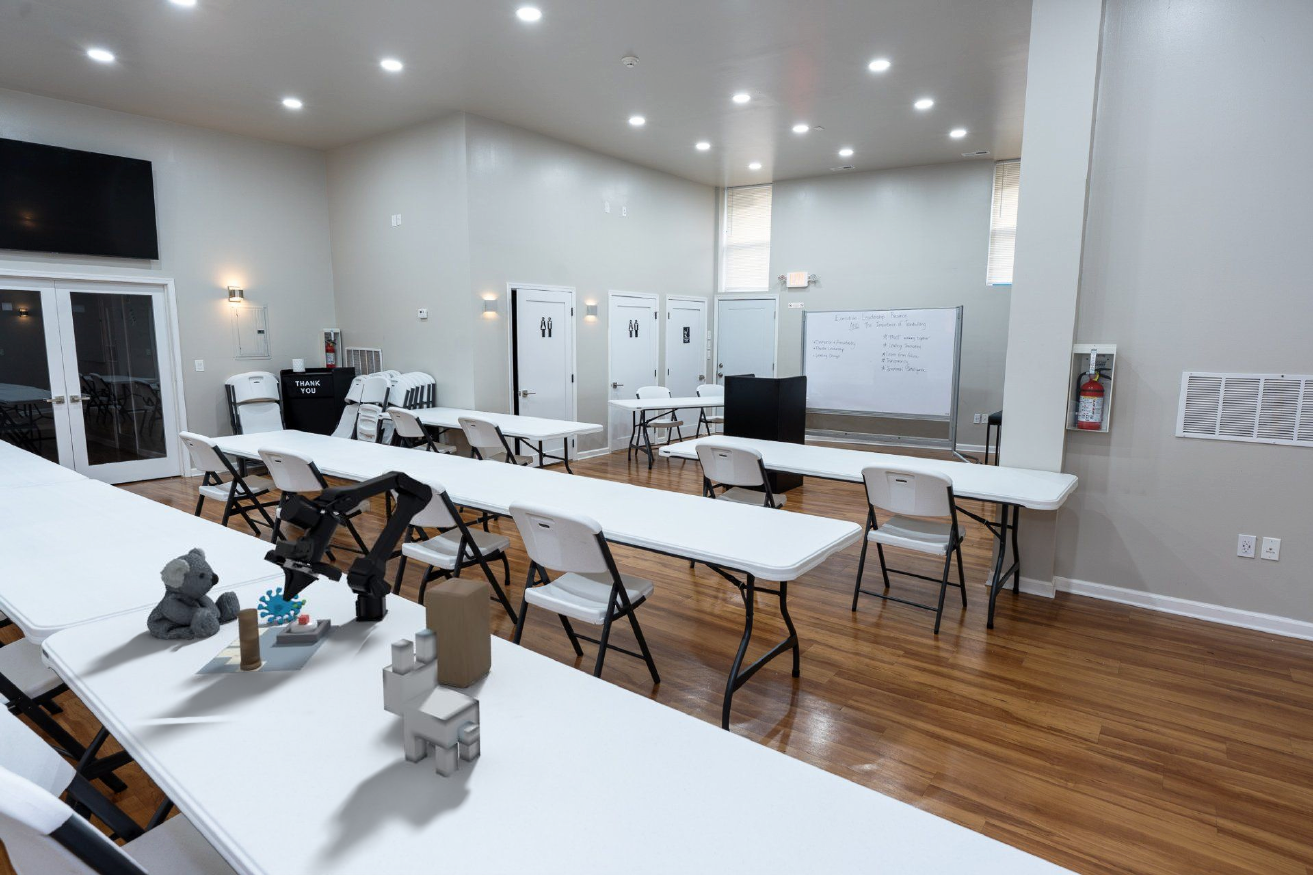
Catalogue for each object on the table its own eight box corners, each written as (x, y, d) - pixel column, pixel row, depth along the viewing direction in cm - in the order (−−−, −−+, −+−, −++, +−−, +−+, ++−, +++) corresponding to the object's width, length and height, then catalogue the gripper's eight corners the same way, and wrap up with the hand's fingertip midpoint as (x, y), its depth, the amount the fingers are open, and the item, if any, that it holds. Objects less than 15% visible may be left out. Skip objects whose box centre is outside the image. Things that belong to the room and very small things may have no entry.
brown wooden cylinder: (265, 661, 149) (261, 607, 147) (256, 670, 145) (253, 614, 143) (245, 662, 148) (242, 608, 147) (236, 671, 144) (232, 615, 143)
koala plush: (213, 641, 161) (207, 561, 158) (129, 645, 158) (122, 564, 155) (245, 613, 178) (240, 541, 175) (169, 617, 175) (163, 543, 172)
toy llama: (458, 783, 109) (455, 665, 107) (385, 750, 118) (381, 640, 115) (491, 759, 116) (489, 647, 113) (420, 729, 124) (416, 625, 122)
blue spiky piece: (258, 623, 167) (257, 587, 173) (254, 634, 171) (253, 598, 176) (308, 619, 174) (305, 584, 179) (303, 629, 177) (301, 595, 183)
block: (493, 669, 148) (491, 581, 146) (466, 690, 139) (464, 596, 137) (454, 661, 152) (452, 575, 149) (425, 682, 142) (422, 590, 140)
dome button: (321, 628, 166) (320, 611, 165) (312, 638, 160) (311, 620, 160) (297, 629, 165) (296, 611, 165) (287, 638, 160) (286, 621, 159)
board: (339, 628, 169) (338, 617, 169) (300, 673, 145) (299, 660, 145) (249, 631, 166) (248, 620, 166) (195, 677, 143) (194, 664, 142)
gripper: (263, 517, 157) (228, 582, 151) (325, 532, 151) (290, 600, 144) (297, 534, 166) (265, 596, 160) (356, 549, 160) (325, 613, 154)
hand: (285, 601), depth 154 cm, fingers closed
